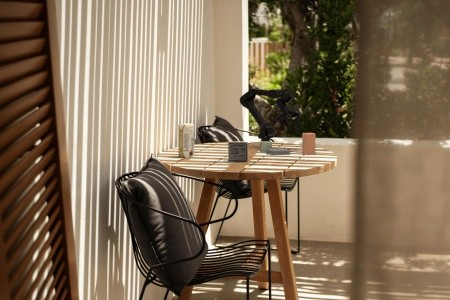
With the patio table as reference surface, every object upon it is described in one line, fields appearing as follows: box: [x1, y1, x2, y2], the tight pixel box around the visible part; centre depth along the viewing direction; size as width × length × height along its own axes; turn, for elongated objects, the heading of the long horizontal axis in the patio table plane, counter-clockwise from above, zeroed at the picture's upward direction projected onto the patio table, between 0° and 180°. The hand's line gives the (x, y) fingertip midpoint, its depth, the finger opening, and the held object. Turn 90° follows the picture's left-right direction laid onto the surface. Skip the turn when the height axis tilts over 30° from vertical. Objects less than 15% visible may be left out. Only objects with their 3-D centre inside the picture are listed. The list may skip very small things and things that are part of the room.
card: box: [291, 148, 302, 153], centre depth 477 cm, size 8×8×1 cm
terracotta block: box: [301, 132, 317, 155], centre depth 464 cm, size 6×6×12 cm
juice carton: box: [177, 122, 195, 159], centre depth 450 cm, size 8×9×19 cm
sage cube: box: [258, 140, 273, 153], centre depth 473 cm, size 6×6×6 cm
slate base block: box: [265, 147, 291, 156], centre depth 463 cm, size 11×11×3 cm
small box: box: [227, 141, 249, 163], centre depth 434 cm, size 11×6×10 cm, turn 84°
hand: (295, 128), depth 471 cm, fingers open, 9 cm apart
